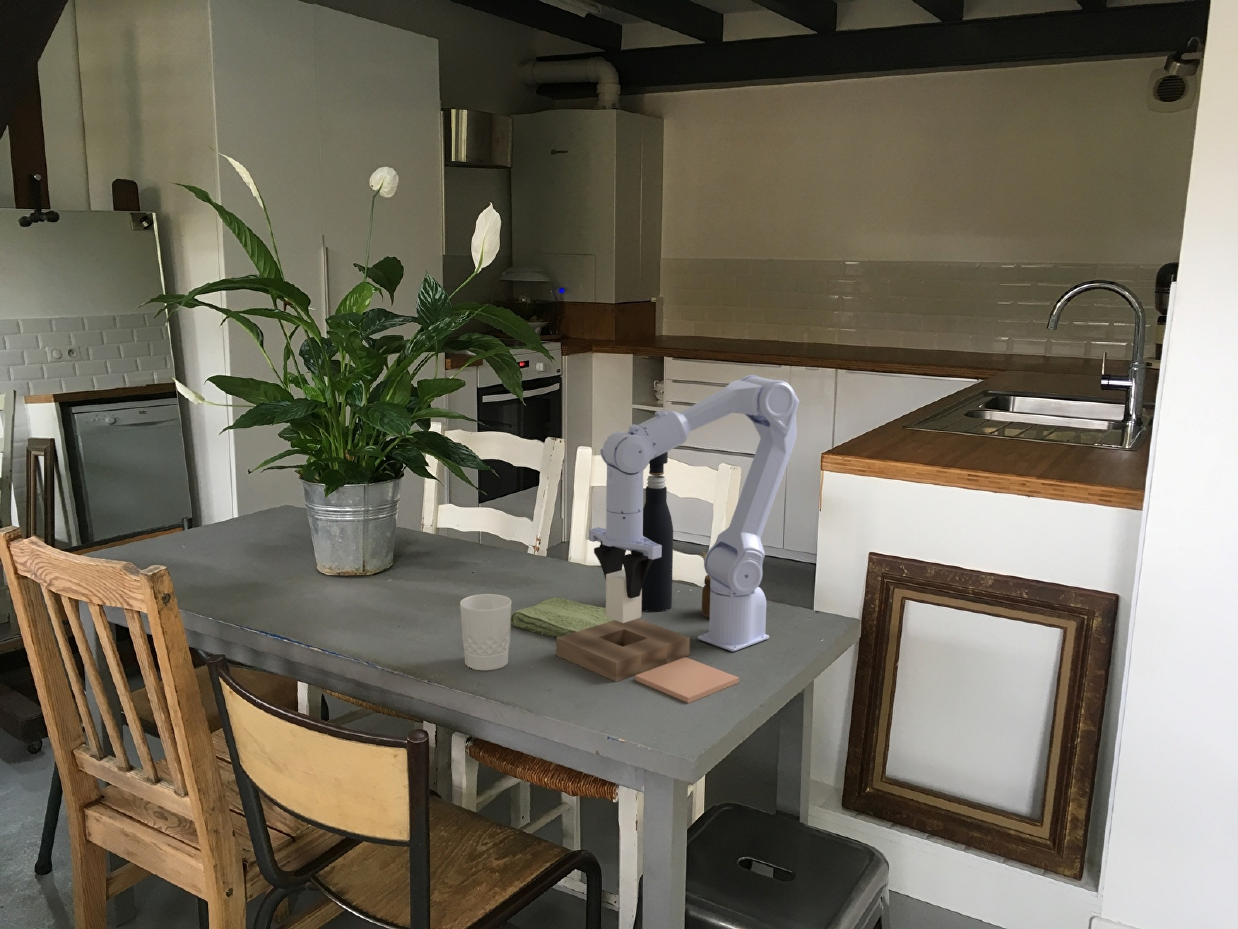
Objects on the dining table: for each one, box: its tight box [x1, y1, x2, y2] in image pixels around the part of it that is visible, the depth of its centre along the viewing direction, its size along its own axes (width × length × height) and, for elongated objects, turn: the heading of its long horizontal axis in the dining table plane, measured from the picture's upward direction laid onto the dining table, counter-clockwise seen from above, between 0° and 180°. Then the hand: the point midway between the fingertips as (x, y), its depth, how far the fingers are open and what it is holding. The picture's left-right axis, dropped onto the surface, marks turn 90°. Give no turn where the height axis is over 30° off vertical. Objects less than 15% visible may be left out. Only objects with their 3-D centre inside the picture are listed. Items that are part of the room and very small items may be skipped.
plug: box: [605, 569, 642, 623], centre depth 164 cm, size 4×4×7 cm
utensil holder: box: [701, 551, 711, 619], centre depth 184 cm, size 6×6×12 cm
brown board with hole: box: [555, 618, 691, 682], centre depth 165 cm, size 16×14×3 cm
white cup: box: [459, 593, 512, 671], centre depth 161 cm, size 8×8×10 cm
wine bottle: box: [641, 451, 674, 612], centre depth 187 cm, size 6×6×30 cm
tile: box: [634, 656, 740, 704], centre depth 156 cm, size 11×11×1 cm
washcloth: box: [511, 597, 613, 638], centre depth 179 cm, size 13×18×3 cm
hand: (623, 593), depth 164 cm, fingers closed on plug, 4 cm apart
